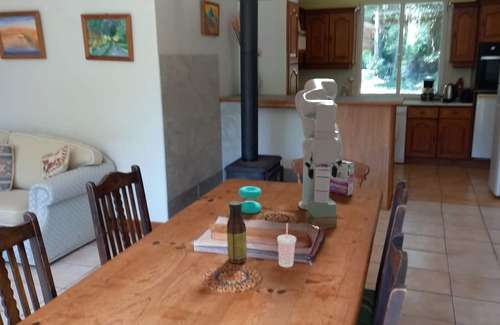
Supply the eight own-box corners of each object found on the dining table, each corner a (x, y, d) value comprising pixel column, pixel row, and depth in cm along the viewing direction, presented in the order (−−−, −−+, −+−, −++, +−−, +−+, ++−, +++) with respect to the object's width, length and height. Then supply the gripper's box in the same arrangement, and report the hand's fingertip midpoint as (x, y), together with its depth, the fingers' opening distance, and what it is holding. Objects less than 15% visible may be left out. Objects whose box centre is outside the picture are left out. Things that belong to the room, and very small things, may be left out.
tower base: (305, 222, 180) (305, 210, 179) (324, 219, 183) (324, 208, 182) (317, 230, 172) (317, 218, 170) (336, 226, 175) (337, 215, 174)
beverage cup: (283, 269, 138) (285, 228, 135) (272, 262, 143) (273, 222, 140) (299, 265, 141) (300, 224, 138) (287, 258, 146) (289, 218, 143)
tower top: (307, 209, 180) (308, 198, 179) (328, 208, 181) (329, 197, 180) (313, 217, 171) (314, 205, 170) (335, 216, 173) (336, 204, 171)
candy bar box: (353, 194, 218) (355, 162, 214) (347, 196, 214) (349, 163, 210) (334, 189, 226) (336, 158, 222) (328, 191, 222) (330, 159, 218)
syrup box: (328, 203, 172) (331, 167, 168) (313, 202, 173) (315, 166, 169) (328, 199, 177) (331, 164, 174) (313, 198, 178) (316, 163, 175)
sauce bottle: (249, 258, 146) (250, 201, 142) (242, 266, 141) (243, 207, 136) (231, 255, 148) (231, 198, 144) (224, 262, 143) (223, 204, 138)
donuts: (237, 191, 186) (239, 185, 196) (237, 213, 188) (239, 206, 198) (260, 192, 185) (262, 185, 195) (260, 214, 187) (261, 207, 197)
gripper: (341, 132, 175) (338, 173, 179) (300, 133, 171) (298, 176, 175) (349, 136, 168) (346, 178, 172) (307, 137, 164) (305, 181, 168)
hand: (322, 177), depth 174 cm, fingers open, 9 cm apart
